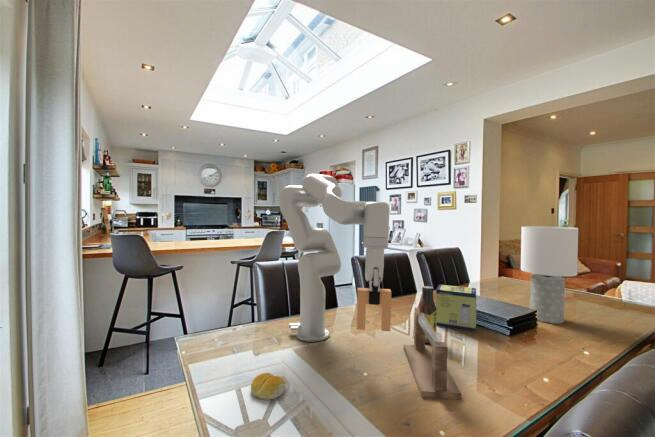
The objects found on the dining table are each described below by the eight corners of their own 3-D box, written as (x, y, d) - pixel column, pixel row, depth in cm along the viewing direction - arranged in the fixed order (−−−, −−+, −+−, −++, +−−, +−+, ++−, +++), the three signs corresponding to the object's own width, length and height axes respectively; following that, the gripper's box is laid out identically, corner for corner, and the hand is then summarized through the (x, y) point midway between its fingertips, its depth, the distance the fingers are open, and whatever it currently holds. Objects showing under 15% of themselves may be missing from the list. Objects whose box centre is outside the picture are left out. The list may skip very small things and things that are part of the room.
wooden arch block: (356, 329, 93) (357, 290, 93) (356, 325, 96) (357, 287, 96) (390, 331, 92) (391, 291, 92) (388, 327, 95) (390, 289, 95)
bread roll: (265, 379, 87) (265, 365, 87) (290, 389, 82) (290, 374, 82) (243, 393, 80) (243, 378, 80) (268, 405, 75) (268, 389, 75)
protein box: (437, 318, 139) (438, 284, 138) (476, 324, 132) (476, 288, 132) (435, 325, 129) (435, 289, 129) (476, 332, 122) (476, 293, 122)
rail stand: (421, 396, 79) (421, 346, 79) (403, 348, 107) (404, 311, 107) (461, 399, 78) (462, 348, 78) (432, 350, 106) (433, 312, 106)
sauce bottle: (437, 345, 110) (438, 290, 110) (419, 343, 111) (420, 288, 111) (434, 337, 117) (435, 285, 116) (417, 336, 118) (418, 284, 117)
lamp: (539, 309, 152) (541, 226, 151) (587, 324, 133) (589, 228, 132) (509, 314, 145) (511, 226, 144) (554, 330, 125) (557, 228, 125)
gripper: (362, 239, 102) (360, 294, 102) (364, 245, 85) (362, 310, 86) (385, 240, 101) (383, 295, 102) (391, 246, 85) (389, 312, 85)
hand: (373, 301), depth 94 cm, fingers closed on wooden arch block, 3 cm apart
